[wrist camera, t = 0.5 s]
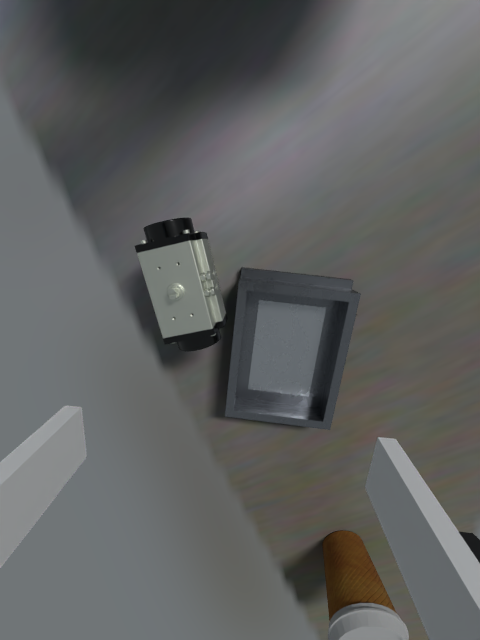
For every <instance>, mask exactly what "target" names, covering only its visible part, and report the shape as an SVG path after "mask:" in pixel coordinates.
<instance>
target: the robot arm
mask: <svg viewBox="0 0 480 640" xmlns="http://www.w3.org/2000/svg"><path fill="white" fill-rule="evenodd" d="M86 458H87V453H86V444H85V434H84V425H83V415H82V408H81V407H74V406H64V407H63V408H62V409H61V410H60V411H58V412H57V413H56V414H55V415H54V416H53V417H52V418H50V419H49V420H48V421H47V422H46V423H45V424H44V425H42V426H41V427H40V428H39V429H38V430H37V431H35V432H34V433H33V434H32V435H31V436H30V437H29V438H27V439H26V440H25V441H24V442H23V443H22V444H21V445H19V446H18V447H17V448H16V449H15V450H14V451H13V452H11V453H10V454H9V455H8V456H7V457H6V458H5V459H3V460H2V461H1V462H0V568H1V567H2V565H3V564H4V563H5V562H6V560H7V559H8V558H9V556H10V555H11V554H12V553H13V551H14V550H15V549H16V547H17V546H18V545H19V544H20V542H21V541H22V539H23V538H24V537H25V536H26V535H27V533H28V532H29V531H30V529H31V528H32V527H33V526H34V524H35V523H36V522H37V520H38V519H39V518H40V517H41V515H42V514H43V513H44V511H45V510H46V509H47V508H48V506H49V505H50V504H51V503H52V501H53V500H54V499H55V497H56V496H57V495H58V494H59V492H60V491H61V490H62V488H63V487H64V486H65V484H66V483H67V482H68V481H69V480H70V478H71V477H72V476H73V474H74V473H75V472H76V471H77V469H78V468H79V467H80V465H81V464H82V463H83V462H84V460H85V459H86ZM365 488H366V491H367V493H368V495H369V498H370V500H371V503H372V505H373V507H374V510H375V512H376V514H377V517H378V519H379V521H380V524H381V526H382V529H383V531H384V533H385V536H386V538H387V540H388V543H389V545H390V547H391V550H392V552H393V555H394V557H395V559H396V562H397V564H398V566H399V569H400V571H401V574H402V576H403V578H404V581H405V583H406V585H407V588H408V590H409V592H410V595H411V597H412V600H413V602H414V604H415V607H416V609H417V611H418V614H419V616H420V618H421V621H422V623H423V626H424V628H425V630H426V633H427V635H428V637H429V640H480V540H479V539H478V538H477V537H476V536H475V535H474V534H473V533H465V532H458V530H457V529H456V527H455V526H454V524H453V523H452V521H451V520H450V519H449V517H448V516H447V514H446V513H445V511H444V510H443V508H442V507H441V505H440V504H439V502H438V501H437V499H436V498H435V496H434V495H433V493H432V492H431V490H430V489H429V487H428V486H427V484H426V483H425V481H424V480H423V479H422V477H421V476H420V474H419V473H418V471H417V470H416V468H415V467H414V465H413V464H412V462H411V461H410V459H409V458H408V456H407V455H406V453H405V452H404V450H403V449H402V447H401V446H400V444H399V443H398V442H397V440H396V439H391V438H381V437H378V438H377V442H376V446H375V450H374V454H373V458H372V462H371V466H370V470H369V474H368V478H367V482H366V486H365Z"/></svg>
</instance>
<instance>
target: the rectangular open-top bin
mask: <svg viewBox="0 0 480 640" xmlns="http://www.w3.org/2000/svg"><path fill="white" fill-rule="evenodd" d="M352 285H353V280H351V279H342V278H333V277H324V276H315V275H306V274H297V273H289V272H280V271H271V270H262V269H253V268H244V267H242V268H241V277H240V279H239V284H238V294H237V304H236V313H235V323H234V333H233V342H232V352H231V362H230V371H229V381H228V391H227V400H226V410H225V416H226V417H234V418H242V419H249V420H257V421H265V422H273V423H281V424H288V425H296V426H304V427H312V428H319V429H327V430H330V427H331V423H332V418H333V414H334V409H335V405H336V401H337V396H338V392H339V387H340V383H341V379H342V374H343V370H344V365H345V361H346V356H347V352H348V348H349V343H350V339H351V334H352V330H353V325H354V321H355V317H356V312H357V308H358V303H359V299H360V295H361V294H360V293H358V292H356V291H354V290H352Z"/></svg>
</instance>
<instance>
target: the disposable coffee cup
mask: <svg viewBox="0 0 480 640" xmlns="http://www.w3.org/2000/svg"><path fill="white" fill-rule="evenodd" d="M323 555H324V566H325V577H326V588H327V599H328V609H329V620H330V623H329V629H328V639H329V640H408V639H409V634H408V630H407V627H406V625H405V623H404V622H403V621H402V620H401V619H400V617H399V615H398V614H397V613H396V611H395V609H394V607H393V605H392V602H391V600H390V598H389V596H388V594H387V592H386V590H385V588H384V586H383V584H382V581H381V579H380V577H379V575H378V573H377V571H376V569H375V567H374V565H373V562H372V560H371V558H370V556H369V554H368V552H367V550H366V548H365V546H364V544H363V541H362V540H361V538H360V537H359V536H358V535H357V534H355V533H353V532H350V531H337V532H334V533H331V534H329V535H328V536H327V537H326V538H325V539H324V541H323Z"/></svg>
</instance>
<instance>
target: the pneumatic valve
mask: <svg viewBox="0 0 480 640" xmlns="http://www.w3.org/2000/svg"><path fill="white" fill-rule="evenodd" d="M144 232H145V235H146V239H147V240H142V241H140V243H141V244H140V245H136V246H135V249H136V252H137V255H138V259H139V262H140V265H141V268H142V272H143V275H144V278H145V281H146V285H147V288H148V291H149V294H150V298H151V301H152V304H153V307H154V311H155V314H156V317H157V320H158V324H159V327H160V330H161V333H162V336H163V340H164V343H165V344H170V343H171V344H173V343H176V342H177V344H178V347H179V349H180V350H181V351H195V350H200V349H203V348H206V347H209V346H211V345H213V344H215V343H217V342H218V341H219V340H220V339H221V335H220V331H219V328H221V327H224V326H225V323H226V320H227V315H226V311H225V307H224V303H223V299H222V294H221V290H220V286H219V282H218V278H217V274H216V270H215V265H214V261H213V257H212V253H211V249H210V245H209V241H208V236H207V233H205V232H199V231H194V228H193V224H192V220H191V218H177V219H171V220H166V221H162V222H158V223H154V224H151V225H148V226H146V227H144ZM147 242H148V243H147Z"/></svg>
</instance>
